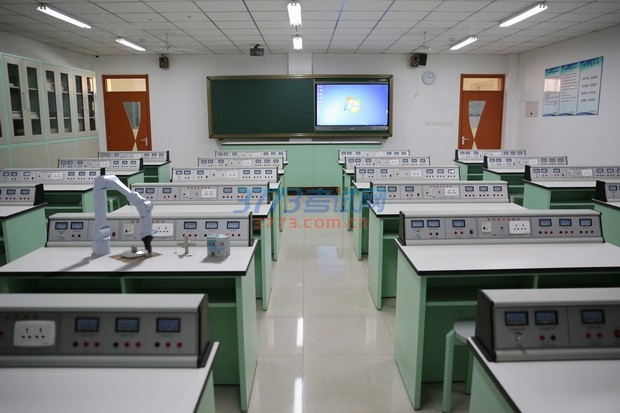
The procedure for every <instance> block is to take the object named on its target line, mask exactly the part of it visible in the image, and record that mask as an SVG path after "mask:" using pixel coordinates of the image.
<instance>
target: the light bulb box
mask: <svg viewBox="0 0 620 413" xmlns="http://www.w3.org/2000/svg"><path fill="white" fill-rule="evenodd" d="M230 238H231V237H230V234H218V233H211V234H210V235H207V236H206V251H207V252H206V253H207V257H218V258H226V257H228V256H230V255H231V239H230Z"/></svg>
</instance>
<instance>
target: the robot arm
mask: <svg viewBox="0 0 620 413" xmlns="http://www.w3.org/2000/svg"><path fill="white" fill-rule="evenodd" d="M109 189H115V190H117V191H118V192H120V193H121V194H122V195H124V196H125V197H126V199H127V201H128V202H129V204H131V205H133V206H134V207H135V208H136V211H137V212H138V216H139V223H140V224H139V225H140V226H139V227H140V232H139V233H138V234H137V235H136V240H142V243H143V245H144V246H143V247H144V249H145V250H150V247H151V245H152V242H153V239H154V236H153V235H155V234H157V233H158V232H157V229H153V219H152V218H153V217H152V210H153V209H154V205H153V202H152V201H151V200H150V199H146V198H144V197H142V196H141V195H140V193H139V192H137V191H132V190H130V189H129V188H128V187H127V186H126V185H125V184H124V183H123V182H121V181H120V179H119V178H118V177H117V176H116V175H115V174H113V173H110V174H106V175H105V174H104V175H98V176H96V178H94V179H93V186H92V198H93V208H94V210H93V212H94V220H95V222H94V223H93V224H92V226H91V232H90V236H91V239H93V241H92V242H91V246H92V248H91V249H92V253H93V254H95V255H96V256H107V255H110V254H111V242H110V239H111V235H112V234H113V230H112V227H111V224H110V222H109V221H107V220H108V219H107V207H106V195H105V192H106V191H107V190H109ZM93 254H90V255H91V256H92V255H93Z"/></svg>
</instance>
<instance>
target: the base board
mask: <svg viewBox="0 0 620 413" xmlns="http://www.w3.org/2000/svg"><path fill="white" fill-rule="evenodd" d="M142 249H143V250H145V248H142ZM146 251H147V252H148V250H146ZM153 252H154V255H153V256H142V257H138V258H124V257H122V253H123V252H121V253H117V254H113V255H108V258H110V259H114V260H117V261H120V262H122V263H124V264H125V263H126V264H129V265H130V264H133V263H137V262H141V261H144V260H147V259H151V258H156V257H160V256H164V254H162V253H158V252H155V251H153Z"/></svg>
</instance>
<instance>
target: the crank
mask: <svg viewBox="0 0 620 413" xmlns="http://www.w3.org/2000/svg"><path fill="white" fill-rule="evenodd" d="M152 247H153V245H152V244H151V247H150V250H148V252H147V251H146V250H143V249H144V248H137V252H135V253H132V251H131V249H128V250H125V251H123V252H121V253H122V257H124V258H138V257H142V256H153V255H154V252H155V251H153V248H152Z"/></svg>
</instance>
